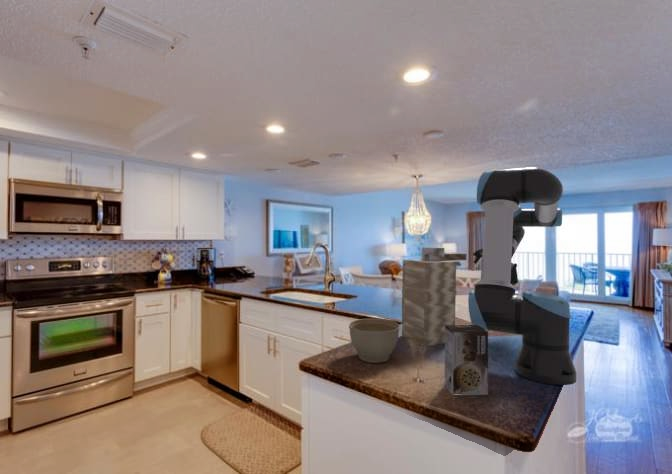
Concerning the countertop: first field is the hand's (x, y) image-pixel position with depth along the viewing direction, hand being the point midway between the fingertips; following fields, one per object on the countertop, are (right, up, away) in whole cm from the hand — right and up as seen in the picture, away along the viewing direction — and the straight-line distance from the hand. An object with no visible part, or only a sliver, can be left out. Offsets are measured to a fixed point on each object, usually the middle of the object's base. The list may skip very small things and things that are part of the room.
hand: (488, 279), depth 137 cm
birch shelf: (-25, -22, -4) cm, 33 cm away
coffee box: (-27, -22, -49) cm, 60 cm away
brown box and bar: (-17, +8, -1) cm, 19 cm away
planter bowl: (-49, -22, -27) cm, 60 cm away
